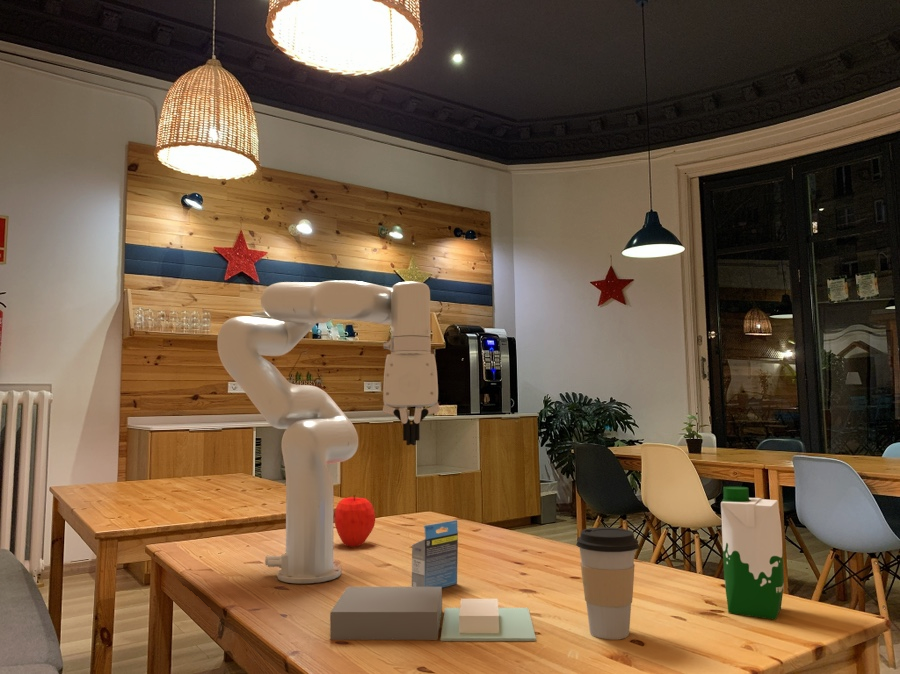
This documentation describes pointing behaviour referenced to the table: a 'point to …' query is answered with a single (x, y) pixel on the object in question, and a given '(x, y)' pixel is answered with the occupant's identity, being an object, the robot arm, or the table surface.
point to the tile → (479, 616)
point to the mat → (511, 628)
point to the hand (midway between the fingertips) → (411, 444)
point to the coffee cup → (608, 579)
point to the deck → (387, 614)
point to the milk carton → (752, 554)
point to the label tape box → (436, 557)
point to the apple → (354, 520)
